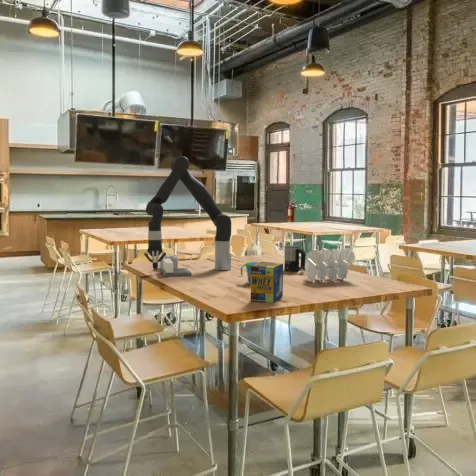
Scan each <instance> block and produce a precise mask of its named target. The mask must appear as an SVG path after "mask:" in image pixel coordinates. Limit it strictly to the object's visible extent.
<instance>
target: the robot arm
mask: <svg viewBox="0 0 476 476" xmlns="http://www.w3.org/2000/svg"><path fill="white" fill-rule="evenodd" d="M169 167H170V169H171V171H170V173H169V175H168V176H167V177H166V179H165V180H164V181H163V183H162V184H161V186H160V187H159V189H158V190H157V192H156V194H155V195H154V196H153V197H152V198H151V200H150V201H148V203H147V204H146V207H145V212H146V214H147V216H150V217H152V218H151V220H149V221H148V229H147V230H148V233H147V242H148V243H147V250H146V252H144V253H143V256H144V257H146V259H147V260H148V261H149V262H150V263H152V268H153V270H157V269H158V268H159V263H160V261H161V260H162V259H163V258H164V256H165V255H166V254H167V253H166V252H165V251H164V250H163V246H162V244H163V243H162V242H163V240H162V239H163V237H162V221H163V216H164V207H163V205H164V204H165V203H167V201H168V200H169V198H170V196H171V194H172V192H173V191H174V188H175V187H176V185H177V184H178V183H179V181H181V183H183V184H184V186H185V188H186V189H187V190H188V191H189V193H190V194H191V196H192V197H193V199H195V201H196V202H197V204H198V205H199V206H200V207H201V208H202V209H203V210H204V211H205V212H206V214H207V215H208V216H209V218H210V220H211V221H212V224H213V225H214V226H215V229H216V230H215V236H214V270H217V271H218V270H219V271H228V270H229V271H230V270H232V254H231V237H232V218H231V217H230V216H229V215H227V214H224V212H222V210H220V208H219V207H218V205H217V204H216V203H215V202H216V201H215V200H214V198H213V196H212V194H211V192H210V191H209V190H208V189H207V187H206V186H205V185H204V183H202V182H201V181H199V180H198V179H196V178H195V177H194V176H193V175H192V174H191V173H190V172H189V168H190V161H189V158H188V157H186V156H184V155H180V156H177V157H175V158H174V159H172V160H171V162H170V164H169ZM162 204H163V205H162ZM149 255H150V256H151V258H150V256H149ZM161 255H162V256H161Z"/></svg>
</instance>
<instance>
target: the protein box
mask: <svg viewBox="0 0 476 476" xmlns="http://www.w3.org/2000/svg"><path fill="white" fill-rule="evenodd" d="M259 262H260V261H259ZM283 286H284V262H269V261H261V262H260V263H258V264H255V265H253V266H251V283H250V302H255V303H256V302H257V303H265V302H266V303H267V304H274V303H276V302H277V301H278V300H280V299H281V298H282V296H283V293H284V290H283V288H284V287H283ZM279 298H280V299H279ZM276 300H277V301H276Z"/></svg>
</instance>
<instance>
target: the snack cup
mask: <svg viewBox="0 0 476 476" xmlns="http://www.w3.org/2000/svg"><path fill="white" fill-rule="evenodd" d="M258 263H260V261H251V262H245V264H243V265H242V266H241V267H240V276H241V277H242V276H243V275H244V274H243V269H244V267H246V276H247V282H248V283H249V284H251V266H253V265H255V264H258Z"/></svg>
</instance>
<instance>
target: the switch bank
mask: <svg viewBox="0 0 476 476" xmlns="http://www.w3.org/2000/svg"><path fill="white" fill-rule="evenodd" d="M160 271H161V273H162V275H163V276H164V277H165V278H167V277H171V278H172V277H192V272H191V270H189V269H188V268H187V267H178V268H173V273H166V272H165V270H164V269H160Z"/></svg>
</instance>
